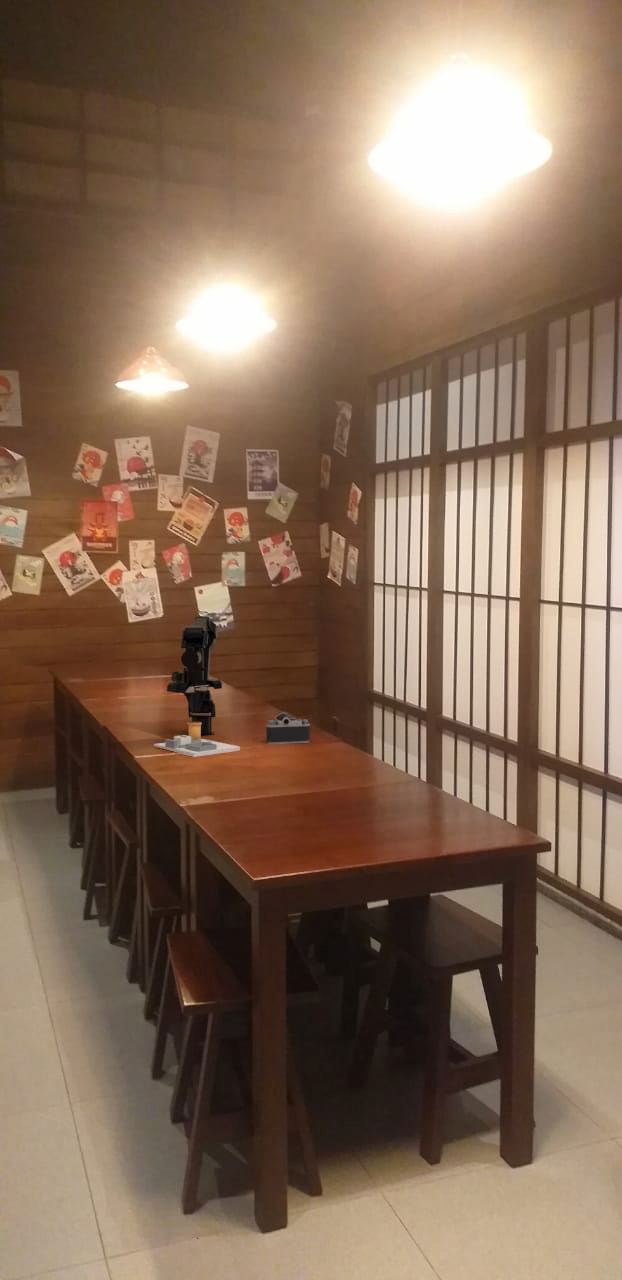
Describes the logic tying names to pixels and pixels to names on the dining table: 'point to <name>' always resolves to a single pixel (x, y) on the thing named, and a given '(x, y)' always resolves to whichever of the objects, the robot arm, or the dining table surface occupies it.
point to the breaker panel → (198, 747)
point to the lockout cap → (195, 730)
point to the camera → (287, 730)
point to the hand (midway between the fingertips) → (194, 711)
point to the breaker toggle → (182, 739)
